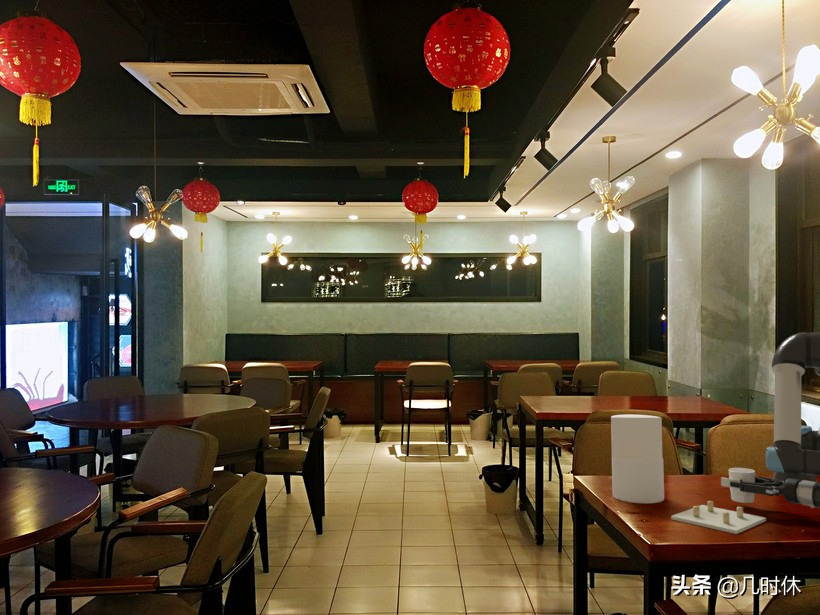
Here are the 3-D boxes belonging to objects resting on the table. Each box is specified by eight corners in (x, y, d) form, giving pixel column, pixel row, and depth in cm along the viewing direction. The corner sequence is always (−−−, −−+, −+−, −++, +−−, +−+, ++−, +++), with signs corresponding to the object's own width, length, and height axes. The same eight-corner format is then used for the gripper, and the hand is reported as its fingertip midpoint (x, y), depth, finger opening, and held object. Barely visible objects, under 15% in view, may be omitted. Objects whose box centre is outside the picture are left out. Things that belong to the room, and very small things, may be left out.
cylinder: (608, 490, 242) (606, 414, 243) (656, 491, 240) (655, 414, 241) (618, 502, 225) (616, 420, 226) (670, 503, 223) (668, 420, 224)
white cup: (734, 496, 224) (733, 466, 224) (759, 500, 218) (758, 469, 219) (725, 500, 218) (724, 470, 219) (751, 505, 213) (750, 473, 213)
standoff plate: (766, 520, 202) (765, 507, 202) (736, 534, 189) (736, 520, 190) (702, 507, 218) (702, 495, 218) (671, 519, 205) (670, 506, 205)
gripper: (788, 510, 198) (713, 496, 216) (814, 498, 211) (741, 485, 229) (787, 485, 198) (712, 473, 216) (813, 474, 211) (740, 464, 229)
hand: (727, 479), depth 222 cm, fingers closed on white cup, 8 cm apart
